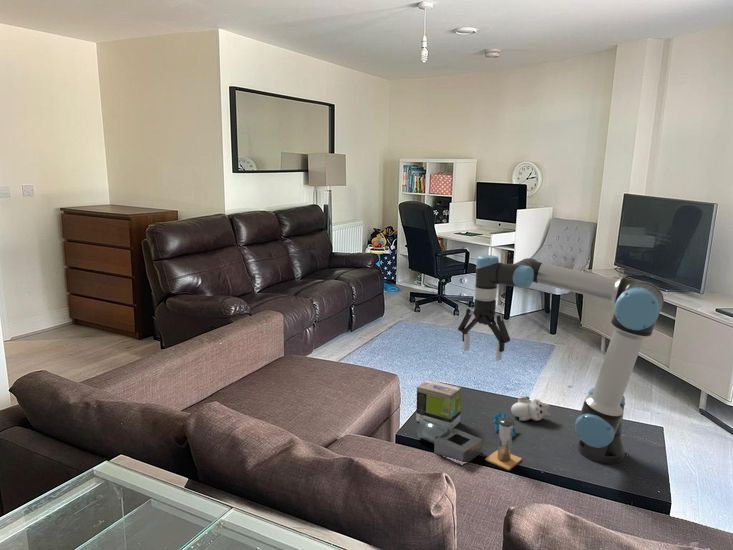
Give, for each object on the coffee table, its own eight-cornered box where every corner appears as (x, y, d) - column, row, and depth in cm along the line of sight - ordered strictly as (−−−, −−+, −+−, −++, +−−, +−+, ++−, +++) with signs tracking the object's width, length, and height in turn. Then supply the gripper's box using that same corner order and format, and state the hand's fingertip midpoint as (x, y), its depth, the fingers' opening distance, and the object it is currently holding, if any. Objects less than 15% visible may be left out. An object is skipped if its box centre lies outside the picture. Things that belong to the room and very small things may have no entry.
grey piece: (481, 452, 187) (482, 434, 186) (462, 466, 178) (463, 447, 177) (431, 431, 202) (432, 414, 200) (412, 442, 193) (412, 424, 192)
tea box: (460, 421, 210) (462, 386, 206) (449, 432, 201) (451, 395, 198) (427, 411, 218) (428, 378, 215) (415, 421, 210) (416, 386, 207)
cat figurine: (510, 395, 212) (549, 395, 208) (510, 398, 219) (548, 398, 215) (511, 420, 209) (551, 420, 205) (511, 421, 216) (550, 422, 212)
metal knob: (514, 458, 182) (517, 420, 179) (506, 464, 179) (509, 426, 176) (501, 452, 186) (503, 416, 183) (493, 458, 182) (495, 421, 179)
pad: (521, 460, 182) (522, 458, 182) (508, 470, 176) (508, 468, 176) (498, 450, 188) (498, 448, 188) (485, 460, 182) (485, 458, 182)
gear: (503, 439, 193) (491, 413, 198) (493, 445, 197) (481, 420, 201) (522, 435, 199) (511, 410, 204) (512, 441, 203) (501, 416, 208)
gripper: (522, 303, 183) (518, 361, 187) (461, 291, 200) (459, 344, 204) (511, 307, 178) (507, 366, 182) (450, 294, 195) (448, 349, 199)
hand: (482, 355), depth 193 cm, fingers open, 13 cm apart
